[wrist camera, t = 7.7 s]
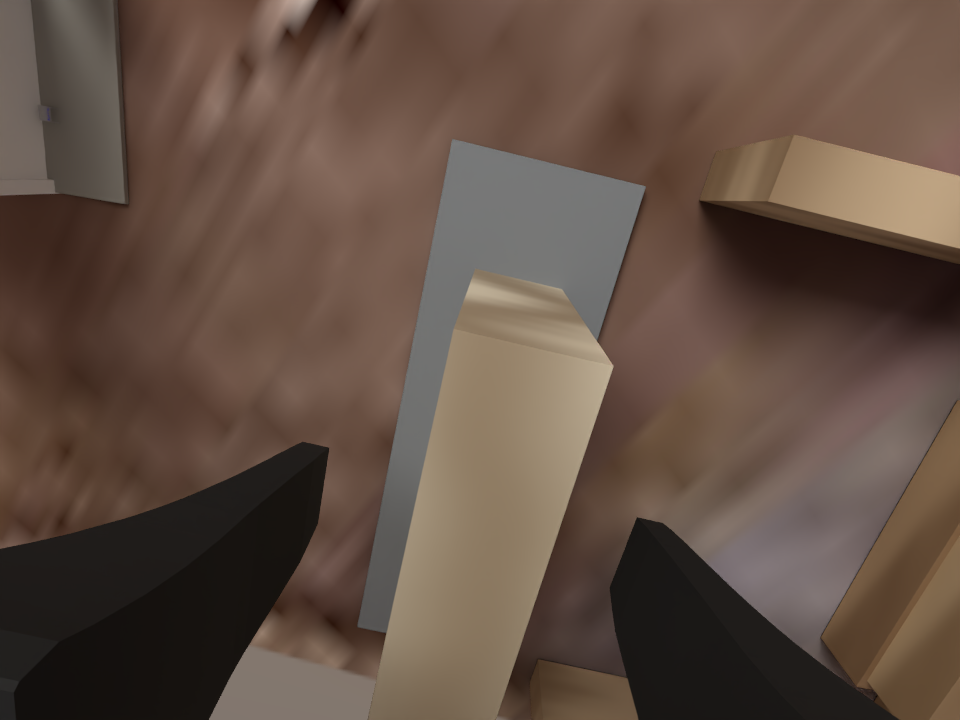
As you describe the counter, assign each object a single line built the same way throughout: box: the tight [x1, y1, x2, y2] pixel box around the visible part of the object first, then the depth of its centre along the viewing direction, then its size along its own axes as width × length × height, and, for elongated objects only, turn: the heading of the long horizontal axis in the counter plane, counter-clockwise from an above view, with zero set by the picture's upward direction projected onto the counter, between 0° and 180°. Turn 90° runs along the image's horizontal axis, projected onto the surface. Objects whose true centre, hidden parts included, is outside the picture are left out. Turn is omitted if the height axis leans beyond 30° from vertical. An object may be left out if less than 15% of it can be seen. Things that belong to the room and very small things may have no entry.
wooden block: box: [368, 269, 613, 720], centre depth 12 cm, size 2×10×6 cm, turn 167°
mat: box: [357, 139, 646, 633], centre depth 15 cm, size 5×16×1 cm, turn 167°
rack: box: [529, 135, 960, 720], centre depth 14 cm, size 13×18×4 cm
